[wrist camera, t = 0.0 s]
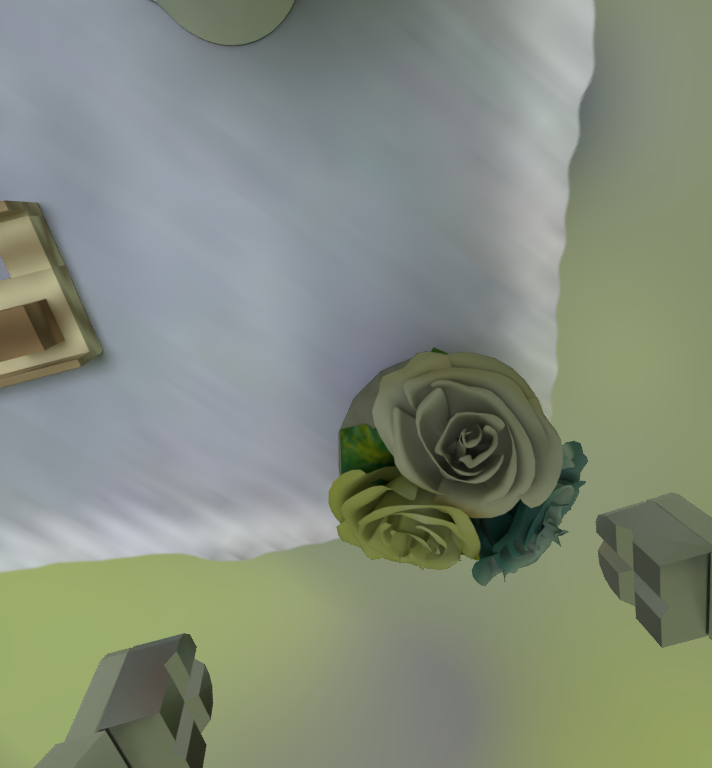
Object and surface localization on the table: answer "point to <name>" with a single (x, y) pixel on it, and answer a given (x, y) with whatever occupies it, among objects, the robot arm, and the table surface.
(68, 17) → the table surface
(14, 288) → the trap track
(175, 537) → the table surface
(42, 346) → the walnut block
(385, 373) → the flower arrangement
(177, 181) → the table surface
